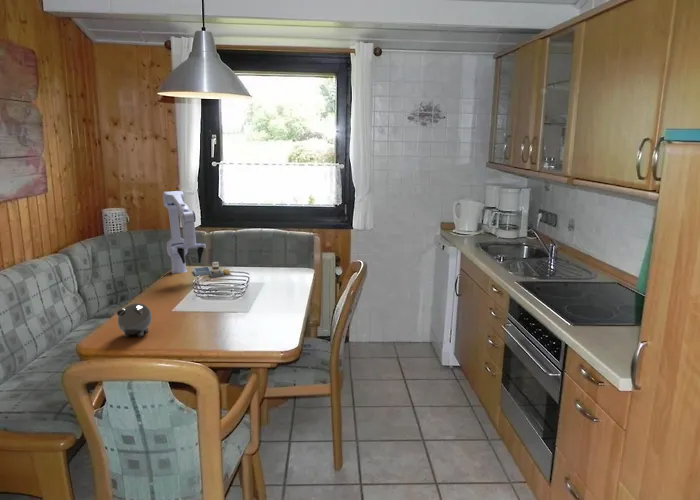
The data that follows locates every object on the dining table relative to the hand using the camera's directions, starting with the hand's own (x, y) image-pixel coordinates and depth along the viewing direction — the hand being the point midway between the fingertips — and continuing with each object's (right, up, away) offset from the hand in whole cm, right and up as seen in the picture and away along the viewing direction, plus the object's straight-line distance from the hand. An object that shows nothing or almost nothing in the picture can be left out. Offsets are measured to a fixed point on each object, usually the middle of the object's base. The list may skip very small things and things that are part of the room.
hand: (191, 262), depth 265 cm
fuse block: (+12, -7, +12) cm, 18 cm away
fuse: (+9, -7, +11) cm, 16 cm away
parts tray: (0, -6, +18) cm, 19 cm away
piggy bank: (0, -25, -70) cm, 74 cm away
